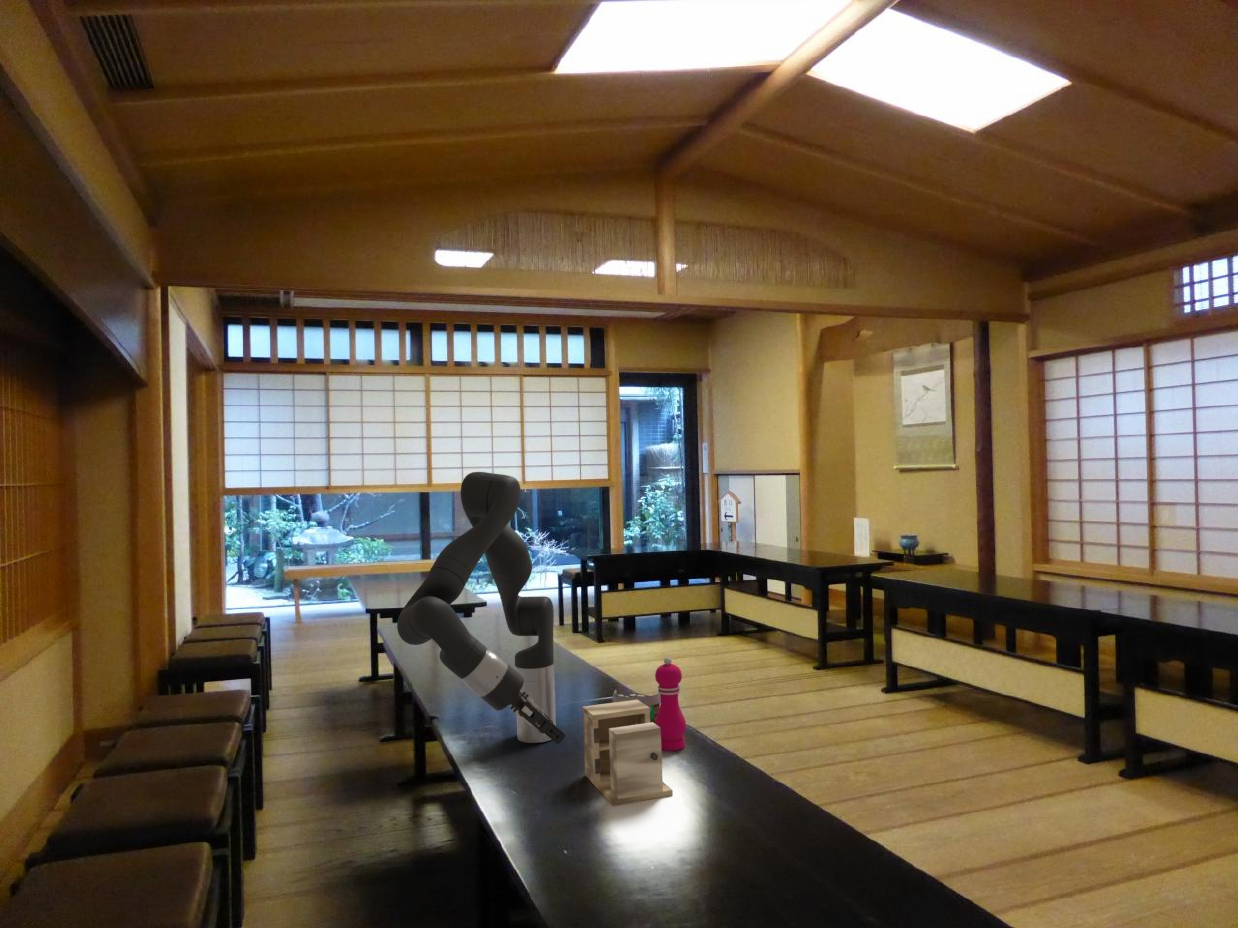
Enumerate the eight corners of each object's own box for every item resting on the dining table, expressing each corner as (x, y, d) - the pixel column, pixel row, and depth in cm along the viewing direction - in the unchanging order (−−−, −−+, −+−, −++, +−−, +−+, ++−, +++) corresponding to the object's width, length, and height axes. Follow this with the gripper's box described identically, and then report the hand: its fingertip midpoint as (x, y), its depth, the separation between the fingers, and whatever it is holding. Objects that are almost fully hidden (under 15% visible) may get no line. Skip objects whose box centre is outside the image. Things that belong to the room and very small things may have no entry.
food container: (605, 738, 194) (603, 695, 194) (615, 731, 199) (613, 689, 199) (655, 743, 189) (653, 699, 189) (663, 735, 195) (662, 692, 195)
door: (611, 791, 158) (608, 728, 158) (654, 784, 161) (652, 722, 161) (620, 801, 153) (617, 735, 153) (665, 793, 156) (662, 729, 156)
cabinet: (585, 775, 170) (582, 706, 170) (639, 766, 174) (637, 699, 174) (613, 805, 154) (610, 729, 154) (672, 795, 158) (669, 721, 158)
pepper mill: (685, 752, 182) (681, 660, 182) (652, 751, 183) (649, 660, 184) (689, 741, 189) (685, 653, 190) (657, 740, 191) (654, 653, 191)
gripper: (514, 670, 144) (580, 727, 148) (498, 654, 157) (558, 706, 161) (485, 705, 142) (552, 761, 146) (471, 685, 156) (533, 737, 160)
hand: (555, 732), depth 154 cm, fingers open, 8 cm apart
